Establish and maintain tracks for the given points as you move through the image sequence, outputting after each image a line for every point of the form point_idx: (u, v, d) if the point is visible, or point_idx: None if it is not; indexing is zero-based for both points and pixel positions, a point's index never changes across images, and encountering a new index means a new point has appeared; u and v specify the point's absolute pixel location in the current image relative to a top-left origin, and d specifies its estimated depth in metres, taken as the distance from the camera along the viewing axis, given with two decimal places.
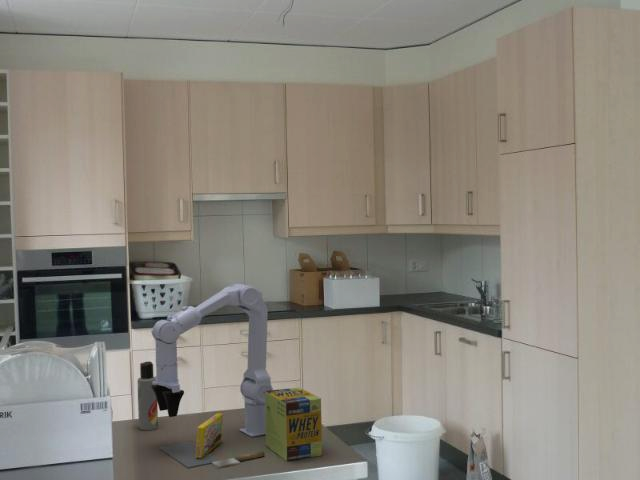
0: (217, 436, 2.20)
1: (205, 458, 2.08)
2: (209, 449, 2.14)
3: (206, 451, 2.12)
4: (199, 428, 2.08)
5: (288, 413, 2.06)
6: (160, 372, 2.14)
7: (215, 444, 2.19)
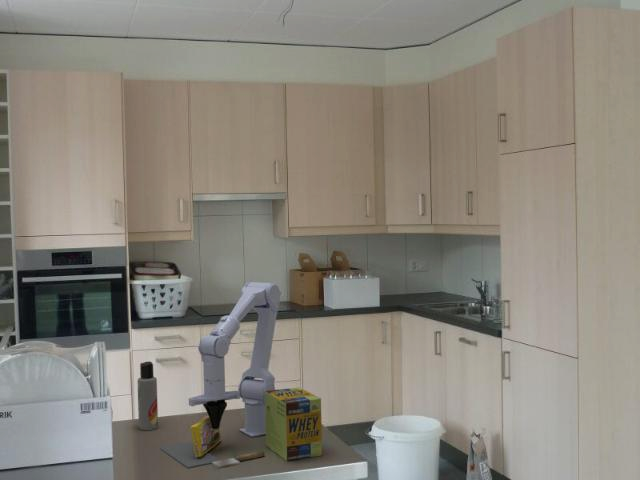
0: (215, 435, 2.20)
1: (205, 458, 2.08)
2: (208, 447, 2.14)
3: (205, 449, 2.12)
4: (192, 427, 2.08)
5: (288, 413, 2.06)
6: None
7: (214, 443, 2.19)
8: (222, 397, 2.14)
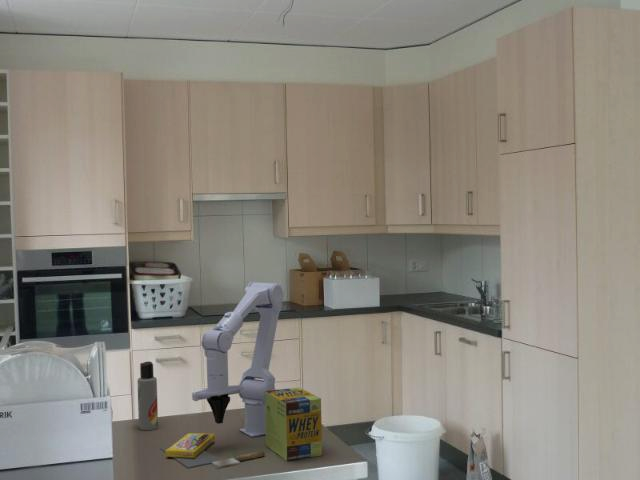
0: (201, 437, 2.21)
1: (205, 458, 2.08)
2: (199, 444, 2.14)
3: (195, 447, 2.12)
4: (166, 454, 2.10)
5: (288, 413, 2.06)
6: None
7: (205, 439, 2.19)
8: (225, 392, 2.15)
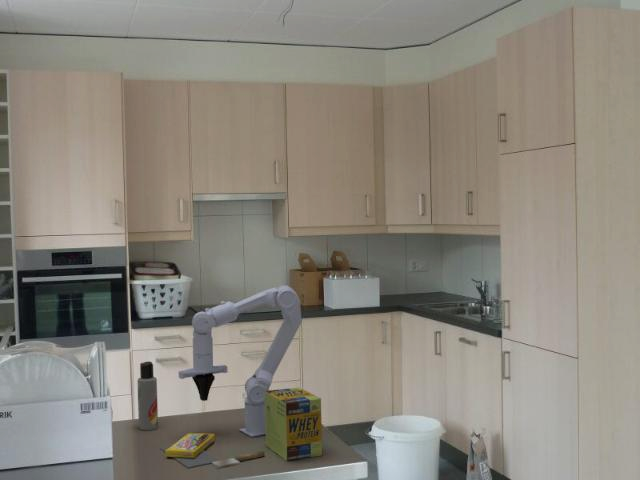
0: (201, 437, 2.21)
1: (205, 458, 2.08)
2: (199, 444, 2.14)
3: (195, 447, 2.12)
4: (166, 454, 2.10)
5: (288, 413, 2.06)
6: None
7: (205, 439, 2.19)
8: (210, 370, 2.28)
